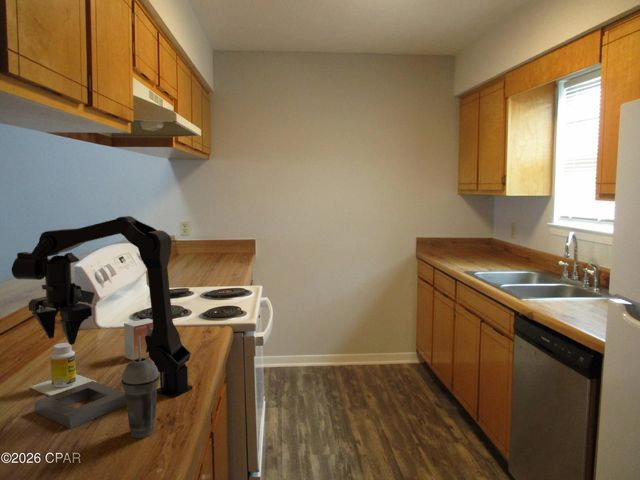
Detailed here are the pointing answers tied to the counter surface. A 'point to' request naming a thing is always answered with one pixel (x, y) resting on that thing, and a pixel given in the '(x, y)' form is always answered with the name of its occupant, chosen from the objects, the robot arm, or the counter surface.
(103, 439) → the counter surface
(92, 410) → the frame
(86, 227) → the robot arm
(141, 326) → the small box
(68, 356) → the supplement bottle
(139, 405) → the beverage cup
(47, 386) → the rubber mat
